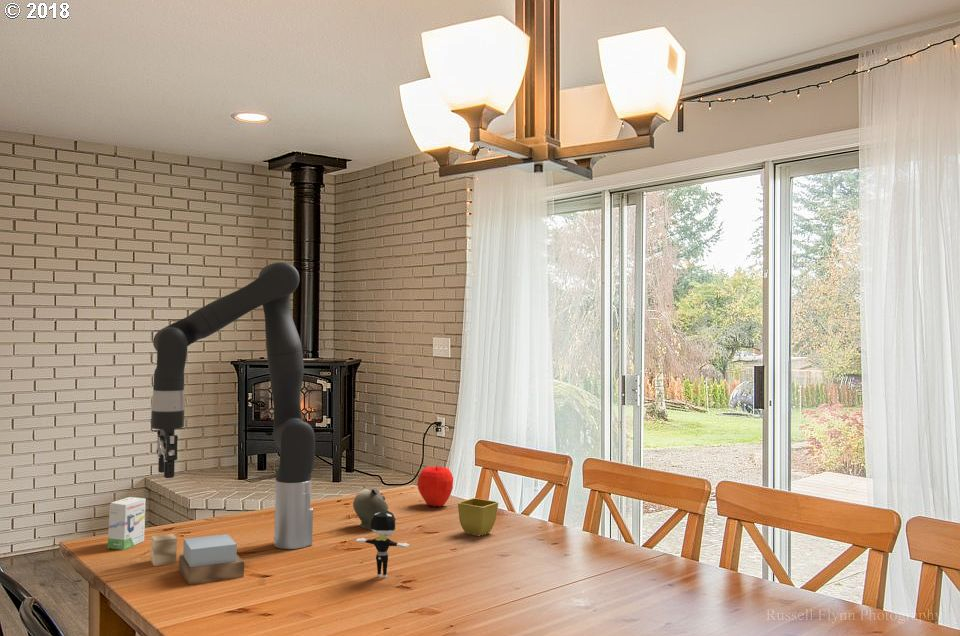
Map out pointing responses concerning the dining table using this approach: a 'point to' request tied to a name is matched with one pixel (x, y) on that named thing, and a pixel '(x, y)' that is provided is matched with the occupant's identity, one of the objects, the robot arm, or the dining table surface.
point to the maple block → (163, 549)
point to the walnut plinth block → (211, 571)
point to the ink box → (126, 523)
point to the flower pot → (477, 515)
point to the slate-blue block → (209, 550)
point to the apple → (435, 485)
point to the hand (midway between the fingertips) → (165, 475)
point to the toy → (382, 539)
